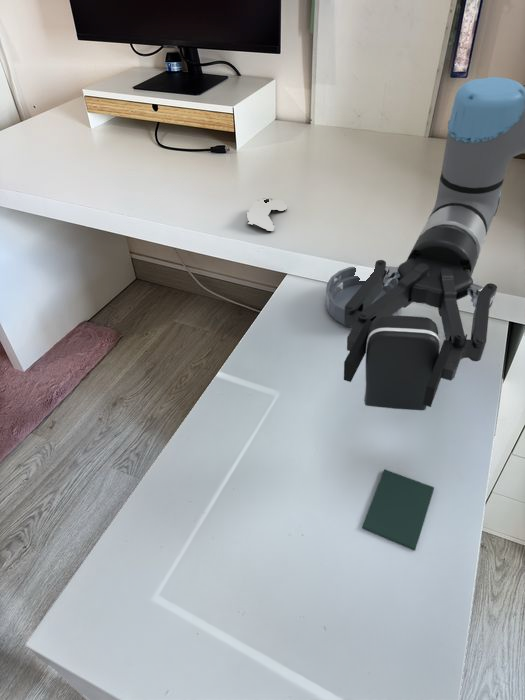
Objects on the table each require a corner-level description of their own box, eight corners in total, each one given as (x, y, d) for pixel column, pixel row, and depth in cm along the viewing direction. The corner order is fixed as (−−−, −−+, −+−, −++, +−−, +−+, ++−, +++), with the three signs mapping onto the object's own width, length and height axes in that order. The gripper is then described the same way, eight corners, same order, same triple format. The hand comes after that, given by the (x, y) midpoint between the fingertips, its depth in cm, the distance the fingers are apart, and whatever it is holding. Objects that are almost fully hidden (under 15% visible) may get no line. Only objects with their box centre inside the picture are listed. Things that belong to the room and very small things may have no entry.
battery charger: (426, 386, 57) (441, 310, 49) (427, 413, 55) (444, 338, 46) (363, 381, 59) (368, 307, 50) (362, 407, 56) (366, 334, 48)
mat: (433, 489, 59) (434, 487, 59) (415, 550, 55) (415, 549, 54) (384, 470, 62) (384, 469, 61) (361, 528, 57) (362, 526, 57)
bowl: (410, 291, 84) (412, 274, 81) (387, 338, 77) (389, 321, 74) (342, 275, 88) (342, 259, 86) (315, 319, 81) (314, 302, 79)
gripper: (526, 294, 60) (488, 442, 47) (365, 259, 68) (293, 378, 55) (545, 241, 55) (509, 391, 42) (368, 210, 63) (289, 328, 49)
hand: (387, 384), depth 48 cm, fingers closed on battery charger, 7 cm apart
